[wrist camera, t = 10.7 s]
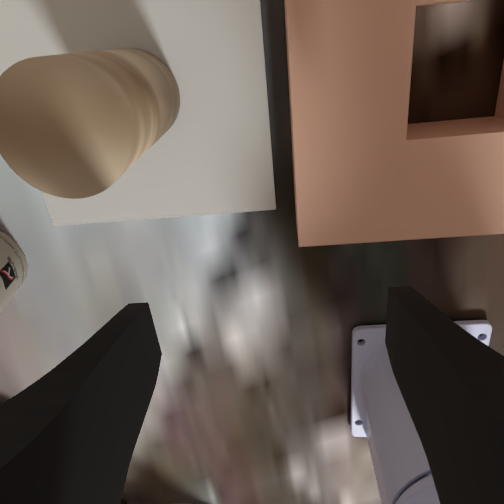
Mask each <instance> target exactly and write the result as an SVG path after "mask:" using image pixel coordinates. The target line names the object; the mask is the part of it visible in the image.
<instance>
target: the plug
mask: <svg viewBox="0 0 504 504" xmlns="http://www.w3.org/2000/svg"><path fill="white" fill-rule="evenodd" d="M179 108H180V93H179V88H178V84H177V82H176V79H175V77H174V75H173V73H172V72H171V70H170V69H169V68H168V66H167V65H166V64H165V63H164V62H163V61H162V60H161V59H160V58H158V57H157V56H155V55H154V54H152V53H150V52H148V51H145V50H142V49H138V48H122V49H111V50H101V51H90V52H80V53H69V54H58V55H48V56H37V57H31V58H27V59H24V60H21V61H19V62H17V63H15V64H13V65H12V66H10V67H9V68H8V69H7V70H5V71H4V72H3V73H2V75H1V76H0V154H1V155H2V157H3V158H4V160H5V161H6V162H7V164H8V165H9V166H10V167H11V169H12V170H13V171H14V172H15V173H16V174H17V175H18V176H20V177H21V178H22V179H23V180H24V181H26V182H27V183H28V184H30V185H31V186H33V187H35V188H36V189H38V190H40V191H42V192H45V193H47V194H50V195H53V196H56V197H61V198H69V199H81V198H87V197H91V196H94V195H97V194H99V193H101V192H103V191H105V190H106V189H107V188H109V187H110V186H111V185H112V184H113V183H114V182H115V181H116V180H118V179H119V178H120V177H121V176H122V175H123V174H124V173H125V172H126V171H127V170H128V169H129V168H130V167H131V166H132V165H133V164H134V163H135V162H136V161H137V160H138V159H139V158H140V157H141V156H142V155H143V154H144V153H145V152H146V151H147V150H148V149H149V148H150V147H151V146H152V145H154V144H155V143H156V142H157V141H158V140H159V139H160V138H161V137H162V136H163V135H164V134H165V133H166V132H167V131H168V130H169V129H170V128H171V126H172V125H173V124H174V122H175V120H176V118H177V116H178V112H179Z"/></svg>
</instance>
